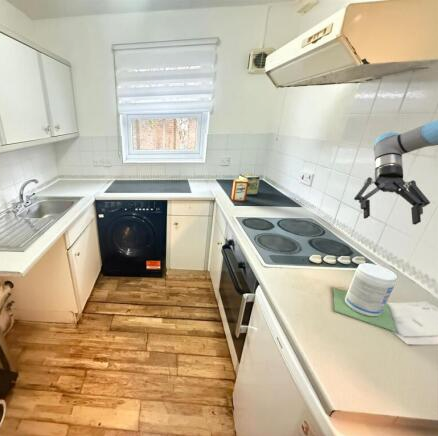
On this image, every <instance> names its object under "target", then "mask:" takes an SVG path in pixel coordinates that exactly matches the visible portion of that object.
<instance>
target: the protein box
mask: <svg viewBox="0 0 438 436" xmlns="http://www.w3.org/2000/svg"><path fill="white" fill-rule="evenodd" d="M260 178H261V177H260V176H257V175H255V174H253V173H239V176H238V179H241V180H247V181H248V188H247V194H246V197H247V196H250V197H251V196H258V195H257V194H258V190H259V186H260Z"/></svg>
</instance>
